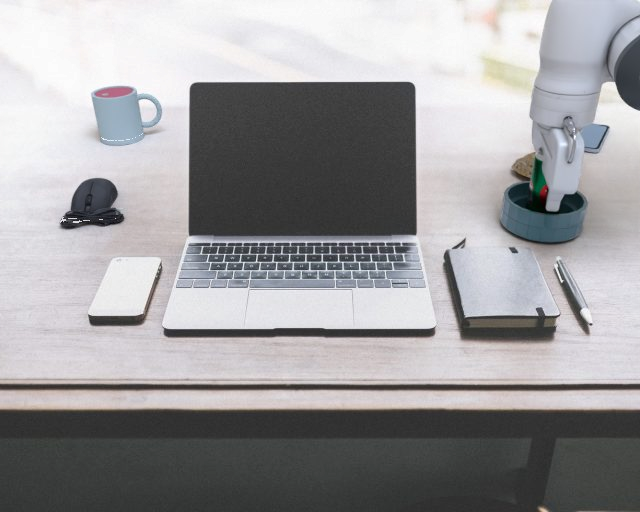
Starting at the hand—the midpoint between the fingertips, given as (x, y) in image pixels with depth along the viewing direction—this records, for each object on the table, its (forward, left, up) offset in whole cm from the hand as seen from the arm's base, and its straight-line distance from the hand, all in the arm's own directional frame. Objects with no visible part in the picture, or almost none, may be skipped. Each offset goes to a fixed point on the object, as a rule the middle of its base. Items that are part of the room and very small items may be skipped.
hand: (546, 195), depth 95 cm
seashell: (-2, -20, -6) cm, 21 cm away
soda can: (0, 0, -5) cm, 5 cm away
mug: (+81, -30, -6) cm, 87 cm away
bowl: (0, 0, -5) cm, 5 cm away
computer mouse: (+73, +3, -6) cm, 73 cm away
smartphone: (-14, -40, -5) cm, 43 cm away
